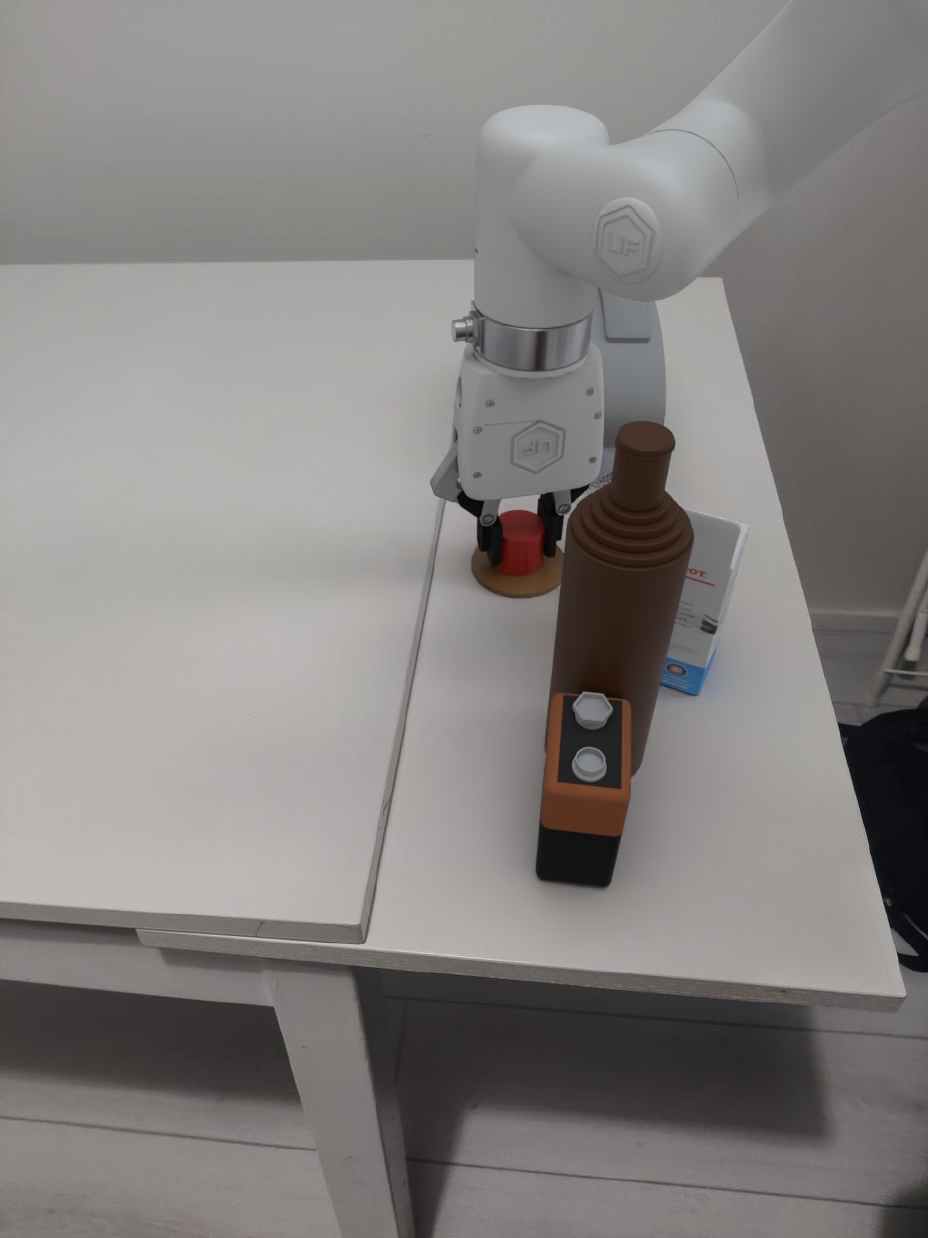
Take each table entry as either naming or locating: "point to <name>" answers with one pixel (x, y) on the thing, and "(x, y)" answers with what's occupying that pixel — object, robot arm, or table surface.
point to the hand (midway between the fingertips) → (518, 548)
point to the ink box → (703, 599)
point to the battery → (584, 788)
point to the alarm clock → (629, 362)
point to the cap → (521, 542)
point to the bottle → (623, 582)
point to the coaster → (518, 585)
